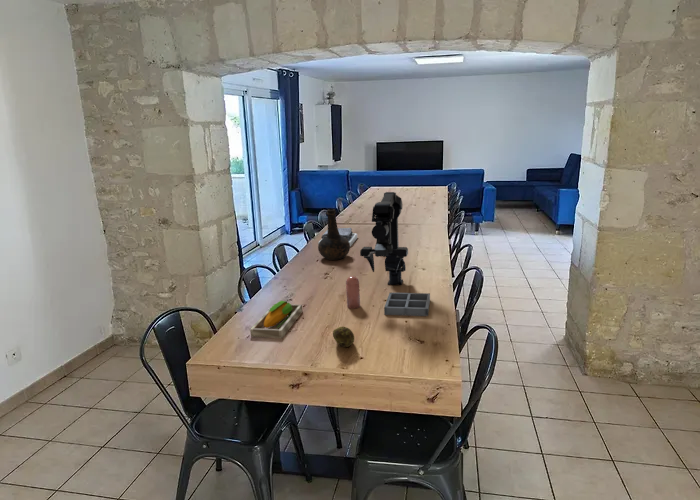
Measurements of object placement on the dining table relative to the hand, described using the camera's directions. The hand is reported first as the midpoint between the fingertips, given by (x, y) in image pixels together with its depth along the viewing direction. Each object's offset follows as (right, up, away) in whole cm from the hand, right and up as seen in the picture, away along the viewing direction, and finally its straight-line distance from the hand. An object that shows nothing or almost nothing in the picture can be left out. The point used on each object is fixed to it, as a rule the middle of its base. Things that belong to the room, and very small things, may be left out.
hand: (384, 272), depth 197 cm
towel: (-22, +14, +110) cm, 113 cm away
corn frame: (-42, -20, -9) cm, 47 cm away
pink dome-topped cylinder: (-13, -14, +5) cm, 20 cm away
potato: (-16, -24, -30) cm, 42 cm away
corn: (-42, -20, -9) cm, 47 cm away
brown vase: (-23, +4, +76) cm, 79 cm away
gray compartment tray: (+10, -14, 0) cm, 17 cm away
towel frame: (-21, +14, +110) cm, 113 cm away
